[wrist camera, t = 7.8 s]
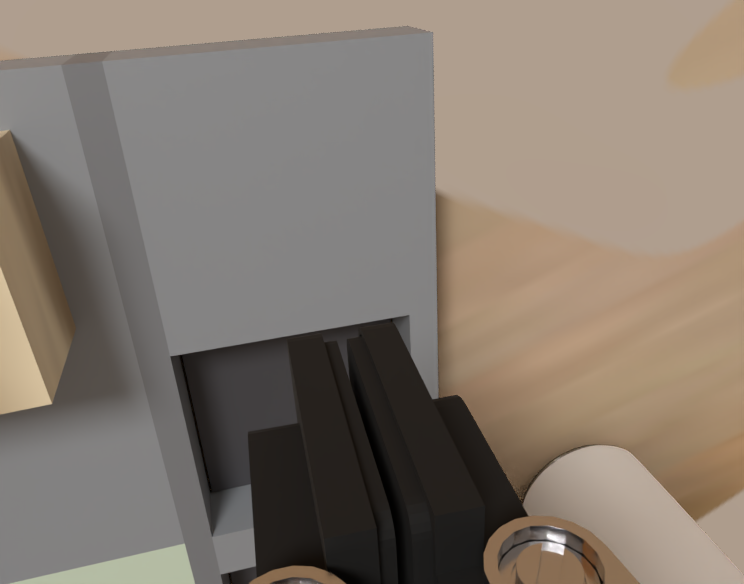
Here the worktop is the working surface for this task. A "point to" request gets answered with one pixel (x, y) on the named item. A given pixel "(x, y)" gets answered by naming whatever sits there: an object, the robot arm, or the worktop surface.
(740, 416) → the worktop surface
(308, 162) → the trap deck
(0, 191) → the block
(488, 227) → the worktop surface
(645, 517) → the can
